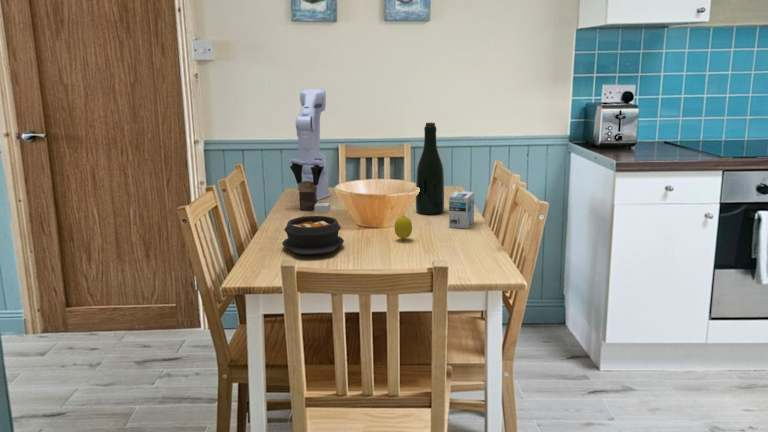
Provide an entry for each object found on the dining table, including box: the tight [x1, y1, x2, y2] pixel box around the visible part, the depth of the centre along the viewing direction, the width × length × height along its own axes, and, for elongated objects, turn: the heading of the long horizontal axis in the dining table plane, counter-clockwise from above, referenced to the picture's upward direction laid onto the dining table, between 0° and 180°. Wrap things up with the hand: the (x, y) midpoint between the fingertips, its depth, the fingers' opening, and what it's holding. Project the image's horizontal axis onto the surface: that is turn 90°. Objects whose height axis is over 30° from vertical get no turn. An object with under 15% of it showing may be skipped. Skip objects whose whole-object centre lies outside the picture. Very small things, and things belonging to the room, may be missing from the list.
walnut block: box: [297, 180, 317, 192], centre depth 248 cm, size 5×5×3 cm
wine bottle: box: [415, 122, 445, 216], centre depth 238 cm, size 10×10×33 cm
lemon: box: [394, 214, 413, 241], centre depth 205 cm, size 6×6×8 cm
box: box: [298, 190, 318, 212], centre depth 249 cm, size 6×6×7 cm
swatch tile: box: [317, 201, 333, 206], centre depth 257 cm, size 6×6×1 cm
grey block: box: [314, 202, 331, 214], centre depth 245 cm, size 5×5×3 cm
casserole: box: [281, 215, 345, 255], centre depth 198 cm, size 25×19×8 cm
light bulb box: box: [448, 190, 475, 230], centre depth 222 cm, size 11×7×11 cm, turn 161°
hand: (307, 184), depth 247 cm, fingers open, 7 cm apart
